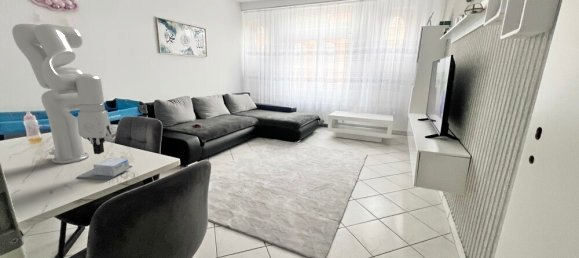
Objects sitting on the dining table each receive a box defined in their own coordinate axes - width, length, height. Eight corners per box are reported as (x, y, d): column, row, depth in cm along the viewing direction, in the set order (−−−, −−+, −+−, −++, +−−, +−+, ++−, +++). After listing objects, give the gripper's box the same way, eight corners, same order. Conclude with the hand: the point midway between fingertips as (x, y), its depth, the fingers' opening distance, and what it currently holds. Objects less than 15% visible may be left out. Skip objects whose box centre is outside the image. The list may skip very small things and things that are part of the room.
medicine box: (94, 174, 96) (113, 177, 95) (92, 164, 95) (112, 166, 94) (111, 167, 104) (129, 169, 103) (109, 157, 103) (128, 159, 102)
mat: (76, 178, 94) (76, 176, 94) (103, 165, 107) (102, 164, 107) (109, 179, 94) (109, 178, 94) (132, 166, 107) (131, 165, 106)
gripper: (64, 108, 91) (72, 155, 95) (104, 111, 90) (110, 157, 95) (82, 105, 98) (89, 148, 103) (118, 107, 98) (123, 151, 102)
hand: (99, 152), depth 99 cm, fingers closed
